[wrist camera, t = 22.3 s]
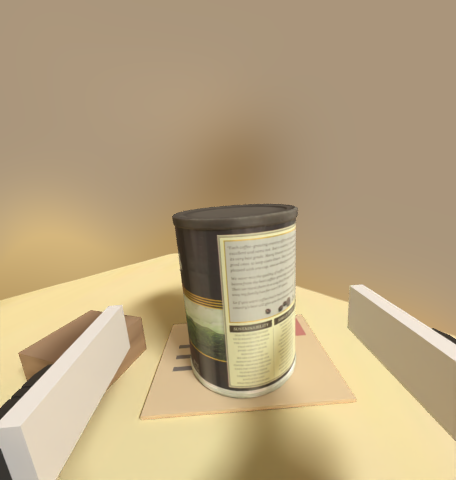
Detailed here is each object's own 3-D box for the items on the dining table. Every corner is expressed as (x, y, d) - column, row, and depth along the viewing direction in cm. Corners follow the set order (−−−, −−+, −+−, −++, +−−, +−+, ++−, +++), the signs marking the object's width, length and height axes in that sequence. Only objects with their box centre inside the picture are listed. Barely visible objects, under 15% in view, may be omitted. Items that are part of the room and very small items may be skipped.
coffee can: (169, 388, 18) (144, 219, 15) (211, 318, 28) (200, 206, 25) (300, 413, 16) (300, 213, 13) (296, 326, 25) (295, 201, 22)
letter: (140, 419, 16) (140, 416, 16) (173, 326, 28) (173, 324, 27) (356, 402, 17) (356, 398, 16) (301, 316, 28) (301, 314, 28)
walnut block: (30, 391, 20) (18, 353, 19) (97, 340, 26) (90, 310, 25) (89, 411, 18) (78, 368, 17) (146, 350, 24) (141, 317, 23)
